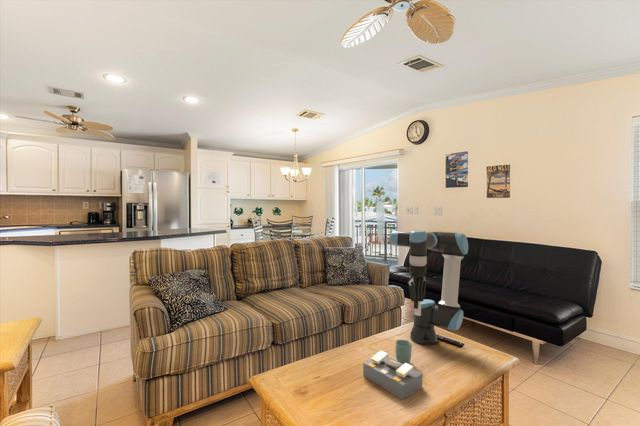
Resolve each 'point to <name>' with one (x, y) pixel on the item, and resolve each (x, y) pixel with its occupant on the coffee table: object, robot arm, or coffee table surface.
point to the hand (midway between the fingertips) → (417, 314)
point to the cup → (403, 351)
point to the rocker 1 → (379, 357)
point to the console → (392, 378)
